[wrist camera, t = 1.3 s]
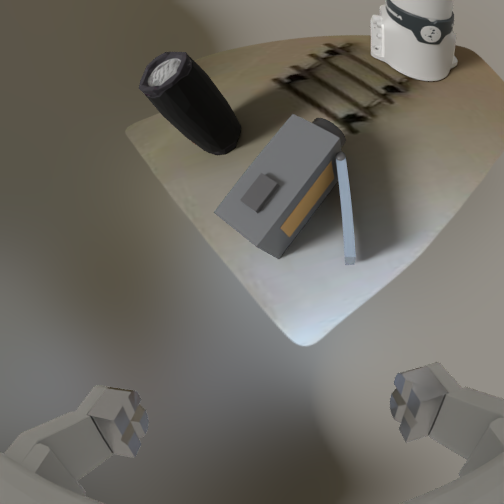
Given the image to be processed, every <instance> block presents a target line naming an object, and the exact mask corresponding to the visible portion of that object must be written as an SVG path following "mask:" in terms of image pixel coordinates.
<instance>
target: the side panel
mask: <svg viewBox="0 0 504 504" xmlns="http://www.w3.org/2000/svg"><path fill="white" fill-rule="evenodd" d="M335 157H336V164H337V172H338V181H339V190H340V200H341V211H342V223H343V237H344V254H345V265H353V264H354V263H355V257H356V255H355V239H354V226H353V215H352V205H351V195H350V187H349V179H348V171H347V164H346V157H345V154H344V153H343V152H337V153H336V155H335Z"/></svg>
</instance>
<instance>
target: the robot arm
mask: <svg viewBox="0 0 504 504" xmlns="http://www.w3.org/2000/svg"><path fill="white" fill-rule="evenodd" d="M453 2H454V0H386V4H384V5H382V6H380V15H372V16H373V17H372V18H371V55H372V56H373V57H374V58H377V59H379V60H381V61H384V62H386V63H387V64H389V65H390V66H391V67H393V68H394V69H395V70H397V71H399V72H400V73H402V74H404V75H407V76H409V77H412V78H415V79H419V80H424V81H437V80H441V79H443V78H445V77H446V76H447V75H448V73H449V71H450V69H451V68H453V67H455V66H457V63H458V60H457V58H456V57H455V56H454V51H455V43H456V35H455V33H454V32H453V30H452V28H453V25H454V14H453V11H452V9H453ZM394 385H395V386H396V389H395V390H394V392H393V393H392V394H391V398H390V410H391V414H392V416H393V418H394V420H396V421H398V422H400V423H401V424H400V427H399V430H400V432H401V434H402V436H403V438H404V440H405V442H406V443H407V442H410V441H413V440H416V439H420V438H422V437H426V436H429V437H430V438H432V439H433V440H435V441H437V442H438V443H440V444H442V445H443V446H445V447H446V448H448V449H450V450H451V451H453V452H455V453H456V454H458V455H460V456H462V457H463V458H465V459H467V461H466V463H465V464H464V466H463V467H462V469H461V470H460V472H459V476H460V478H458V479H456V480H454V481H452V482H450V483H448V484H446V485H444V486H441V487H439V488H437V489H435V490H432V491H430V492H428V493H426V494H423V495H420V496H418V497H415V498H413V499H410V500H407V501H405V502H402V503H398V504H504V399H503V398H499V397H496V396H493V395H490V394H487V393H484V392H480V391H477V390H474V389H471V388H468V387H464V388H462V387H461V386H460V385H459V384H458V383H457V381H456V380H455V379H454V378H453V377H452V376H451V375H450V374H449V372H448V371H447V370H446V369H445V368H444V367H443V366H442V365H441V364H440V363H438V362H435V363H432V364H428V365H425V366H424V367H420V368H416V369H412V370H408V371H405V372H401V373H398V374H397V375H396V377H395V381H394ZM140 401H141V398H140V395H139V394H138V392H137V391H135V390H128V389H121V388H114V387H107V386H102V385H97V386H94V388H93V389H92V390H91V392H90V393H89V394H88V395H87V397H86V398H85V399H84V401H83V402H82V403H81V405H80V406H79V407H78V408H77V410H76V411H75V412H69V413H66V414H64V415H62V416H60V417H58V418H55V419H53V420H51V421H48V422H46V423H44V424H41V425H39V426H37V427H34V428H32V429H29V430H27V431H25V432H22V433H21V434H20V435H19V436H18V437H17V438H16V440H15V441H14V442H13V443H12V444H11V446H10V447H9V448H8V449H7V451H6V452H5V453H4V454H2V453H1V452H0V504H105V503H102V502H99V501H96V500H93V499H91V498H88V497H85V494H86V492H85V490H84V489H83V488H82V486H81V485H80V484H79V483H78V482H77V481H78V480H79V479H80V478H82V477H83V476H85V475H86V474H88V473H89V472H90V471H92V470H93V469H94V468H96V467H97V466H99V465H100V464H101V463H103V462H104V461H106V460H107V459H108V458H109V457H111V456H112V455H113V454H118V455H122V456H127V457H134V458H135V457H136V455H137V452H138V450H139V448H140V446H141V442H140V440H139V439H140V438H141V437H143V436H144V435H145V434H146V432H147V430H148V423H149V420H148V415H147V413H146V410H145V409H144V408H143V407H142V406H141V405H140Z"/></svg>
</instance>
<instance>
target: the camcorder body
mask: <svg viewBox="0 0 504 504" xmlns="http://www.w3.org/2000/svg"><path fill="white" fill-rule="evenodd" d="M345 142H346V138H345V136H344V134H343V133H342V131H341V130H340V129H339V128H338V127H337V126H335V125H334V124H333V123H331V122H330V121H328V120H326V119H323V118H316V119H315V120H314V121H313V122H312V123H311V122H309V121H307V120H305V119H303V118H301V117H299V116H296V115H294V114H292V115H291V117H290V118H289V119H288V120H287V121H286V122H285V124H284V125H283V126H282V127H281V128H280V130H279V131H278V132H277V133H276V134H275V136H274V137H273V138H272V139H271V140H270V142H269V143H268V144H267V145H266V146H265V148H264V149H263V150H262V151H261V153H260V154H259V155H258V156H257V158H256V159H255V160H254V161H253V162H252V164H251V165H250V166H249V167H248V169H247V170H246V171H245V173H244V174H243V175H242V176H241V178H240V179H239V180H238V181H237V183H236V184H235V185H234V187H233V188H232V189H231V190H230V192H229V193H228V194H227V196H226V197H225V198H224V200H223V201H222V202H221V203H220V205H219V206H218V207H217V209H216V210H215V211H214V213H215V214H216V215H217V216H219V217H220V218H221V219H222V220H224V221H225V222H226V223H227V224H229V225H230V226H231V227H232V228H234V229H235V230H236V231H237V232H239V233H240V234H241V235H242V236H244V237H245V238H246V239H247V240H249V241H250V242H251V243H252V244H254V245H255V246H256V247H258V248H260V249H261V250H263V251H265V252H267V253H269V254H270V255H272V256H274V257H276V258H277V259H279V258H280V257H281V255H282V254H283V253H284V251H285V250H286V249H287V248H288V246H289V245H290V244H291V242H292V241H293V240H294V238H295V237H296V236H297V235H298V233H299V232H300V231H301V229H302V228H303V227H304V225H305V224H306V223H307V221H308V220H309V219H310V217H311V216H312V215H313V213H314V212H315V211H316V210H317V208H318V207H319V206H320V204H321V203H322V202H323V200H324V199H325V198H326V196H327V195H328V193H329V192H330V191H331V189H332V188H333V187H334V185H335V184H336V183H337V181H338V172H337V164H336V157H335V155H336V153H337V152H342V151H341V147H342V146H343V145H344V143H345Z"/></svg>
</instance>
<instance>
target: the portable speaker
mask: <svg viewBox="0 0 504 504" xmlns="http://www.w3.org/2000/svg"><path fill="white" fill-rule="evenodd" d="M139 89H140V90H141V91H142V92H143V93H144V94H145V95H146V96H147V98H148V99H149V100H150V101H151V102H152V103H153V105H154V106H155V107H156V108H157V109H158V111H159V112H160V113H161V114H162V115H163V116H164V117H165V118H166V119H167V120H168V121H169V122H170V123H171V124H172V125H174V126H175V127H176V128H177V129H178V130H179V131H180V132H181V133H182V134H183V135H184V136H185V137H187V138H188V139H189V140H191V141H192V142H193V143H195V145H197V146H199V147H200V148H202V149H203V150H204V151H206V152H209V153H212V154H215V155H222V154H226V153H228V152H229V151H231V150H232V149H234V148H235V147H236V143H237V140H238V137H239V134H240V132H241V125H240V124H239V121H238V119H237V117H236V116H235V114H234V112H233V111H232V109H231V107H230V105H229V104H228V102H227V101H226V99H225V98H224V97H223V95H222V94H221V92H220V91H219V90H218V88H217V87H216V86H215V84H214V83H213V82H212V80H211V79H210V78H209V76H208V75H207V74H206V73H205V72H204V71H203V70H202V69H201V68H200V66H199V65H198V64H197V63H196V62H195V61H194V60H192V59H191V58H190V57H189V56H188V55H187V53H186V52H165V53H163V54H161V55H160V56H158V57H156V58H155V59H154V60H153V61H152V62H151V63H150V64H149V65H147V67H146V69H145V72H144V74H143V76H142V79H141V81H140V85H139Z"/></svg>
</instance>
